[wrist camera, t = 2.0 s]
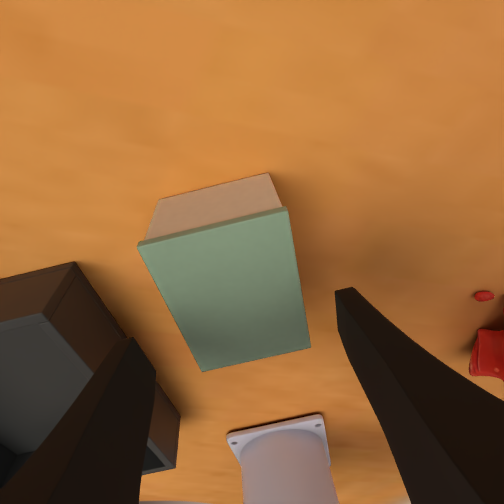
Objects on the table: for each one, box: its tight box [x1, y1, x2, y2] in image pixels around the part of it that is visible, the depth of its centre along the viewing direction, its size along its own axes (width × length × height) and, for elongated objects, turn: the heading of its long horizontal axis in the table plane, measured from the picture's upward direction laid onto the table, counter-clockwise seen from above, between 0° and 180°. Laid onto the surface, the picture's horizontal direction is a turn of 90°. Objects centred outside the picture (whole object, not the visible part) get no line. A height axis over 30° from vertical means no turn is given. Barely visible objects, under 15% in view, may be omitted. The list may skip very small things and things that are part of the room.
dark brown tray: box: [0, 262, 180, 490], centre depth 18 cm, size 15×13×4 cm
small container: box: [137, 173, 311, 372], centre depth 14 cm, size 7×5×4 cm
